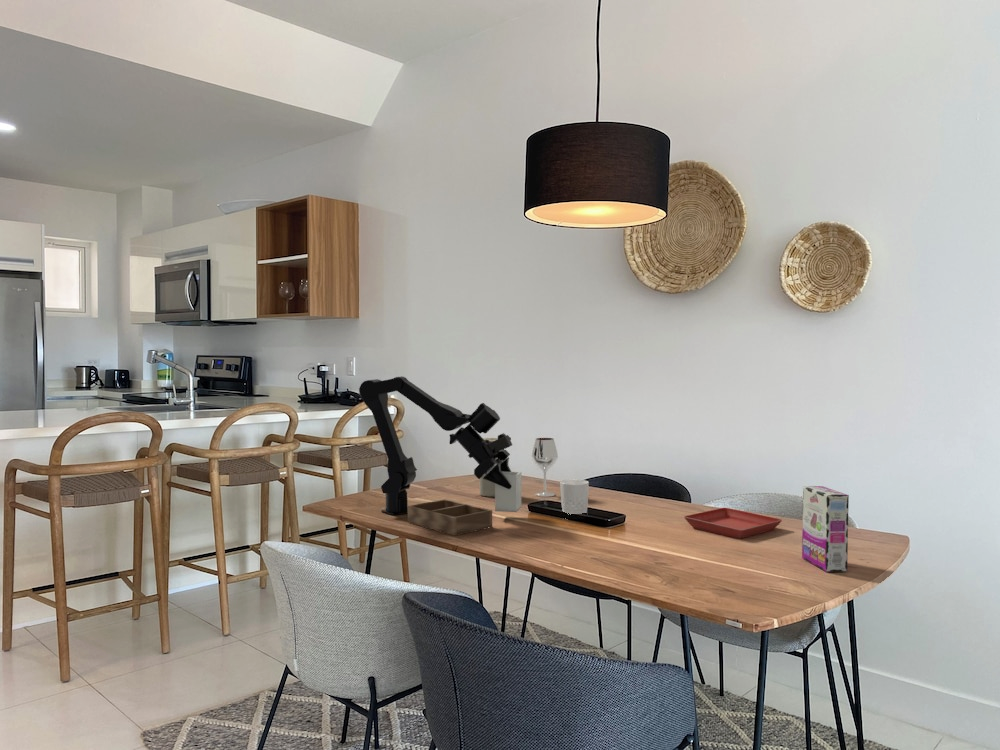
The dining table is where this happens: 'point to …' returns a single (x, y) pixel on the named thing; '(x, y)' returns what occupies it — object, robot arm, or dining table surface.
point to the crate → (450, 516)
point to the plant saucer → (732, 522)
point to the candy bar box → (825, 528)
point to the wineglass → (544, 459)
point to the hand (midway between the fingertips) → (513, 485)
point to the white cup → (574, 496)
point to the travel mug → (487, 486)
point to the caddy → (509, 493)
